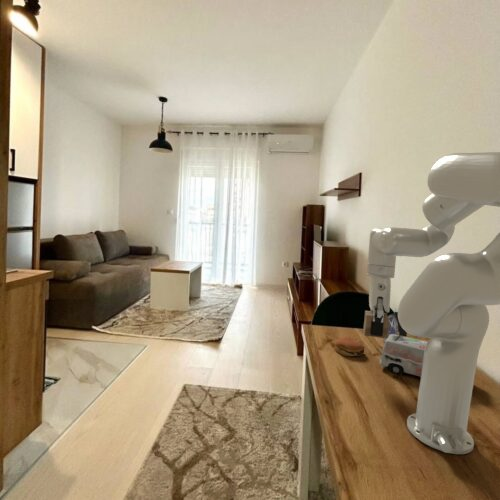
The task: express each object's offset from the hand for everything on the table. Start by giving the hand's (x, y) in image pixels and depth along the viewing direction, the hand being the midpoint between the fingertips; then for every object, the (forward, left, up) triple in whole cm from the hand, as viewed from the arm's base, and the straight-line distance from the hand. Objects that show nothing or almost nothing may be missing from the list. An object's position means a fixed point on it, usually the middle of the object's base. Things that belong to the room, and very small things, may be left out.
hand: (375, 331), depth 95 cm
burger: (+17, +6, -14) cm, 23 cm away
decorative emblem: (+25, -10, -14) cm, 30 cm away
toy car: (+8, -16, -14) cm, 23 cm away
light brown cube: (0, 0, -1) cm, 1 cm away
